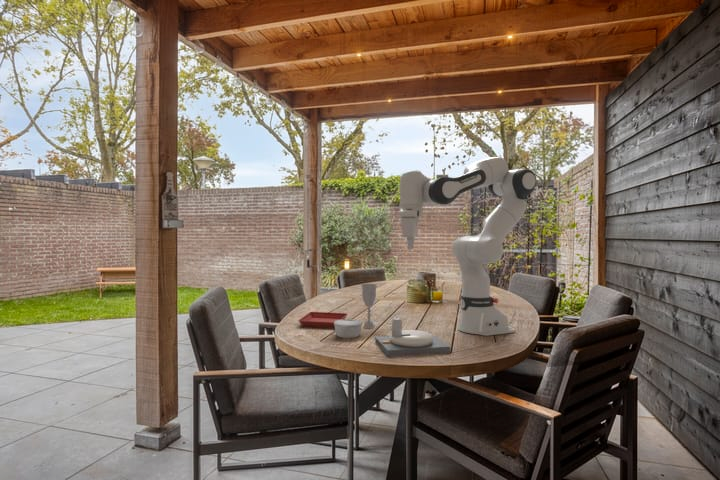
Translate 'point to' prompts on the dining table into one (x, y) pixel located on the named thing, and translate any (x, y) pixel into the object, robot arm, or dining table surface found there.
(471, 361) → the dining table surface
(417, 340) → the dial
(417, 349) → the dial board
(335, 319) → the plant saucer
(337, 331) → the ramekin
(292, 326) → the dining table surface
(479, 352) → the dining table surface
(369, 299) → the chalice
